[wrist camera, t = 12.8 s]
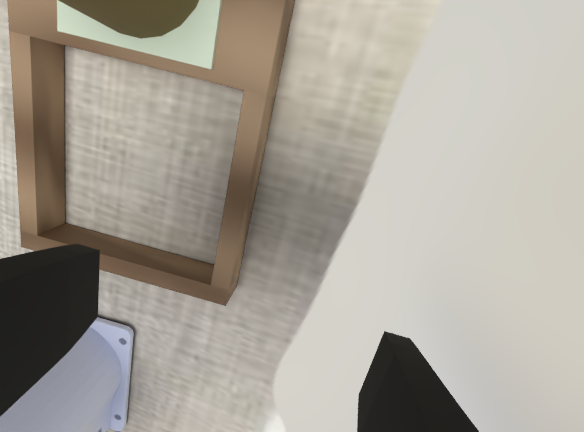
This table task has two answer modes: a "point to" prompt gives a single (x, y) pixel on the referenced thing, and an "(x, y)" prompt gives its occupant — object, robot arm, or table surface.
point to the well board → (163, 55)
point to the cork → (136, 14)
